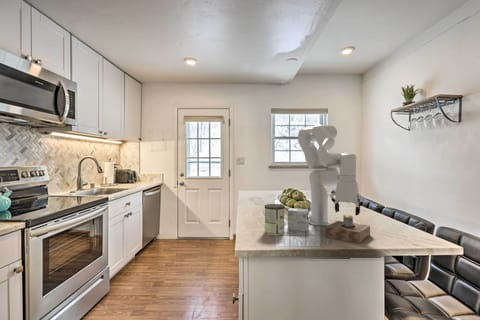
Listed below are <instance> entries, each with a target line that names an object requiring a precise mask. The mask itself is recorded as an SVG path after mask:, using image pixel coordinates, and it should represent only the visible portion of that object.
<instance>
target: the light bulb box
mask: <svg viewBox="0 0 480 320" xmlns="http://www.w3.org/2000/svg"><path fill="white" fill-rule="evenodd" d="M309 215H310V214H309V209H308V208H291V207H290V208H288V210H287V230H288V231H298V232H309V228H310V227H309V225H310V223H309V220H310V219H309Z"/></svg>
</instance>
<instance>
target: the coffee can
mask: <svg viewBox="0 0 480 320" xmlns="http://www.w3.org/2000/svg"><path fill="white" fill-rule="evenodd" d="M263 206H264V233H265V234H266V235H270V236H282V235H285V233H286V232H285V205H284V204H280V203H279V204H278V203H269V204H265V205H263Z"/></svg>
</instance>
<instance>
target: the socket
mask: <svg viewBox="0 0 480 320" xmlns="http://www.w3.org/2000/svg"><path fill="white" fill-rule="evenodd" d="M324 227H325V228H324V229H325V232H324V233H325V238H330V239H335V240H339V241H345V242H350V243H356V244H361V243H363V242H364V241H365V240H366V239H368V238H369V237H371V225H368V224H362V223H361V224H360V223H354V222H353V228H346V227H343V221H341V220H337V221H334V222H331V224H330V225H325V226H324Z"/></svg>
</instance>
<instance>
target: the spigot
mask: <svg viewBox="0 0 480 320" xmlns="http://www.w3.org/2000/svg"><path fill="white" fill-rule="evenodd" d="M342 217H343V221H342V222H343V227H346V228H353V223H354V216H353V215H350V214H344V215H342Z"/></svg>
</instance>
